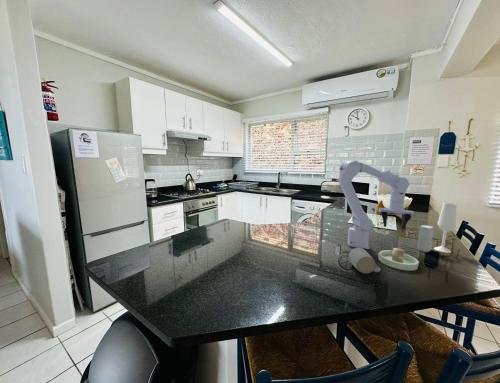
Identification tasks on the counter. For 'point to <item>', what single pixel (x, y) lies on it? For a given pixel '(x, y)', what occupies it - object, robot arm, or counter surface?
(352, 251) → the ceramic mug
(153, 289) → the counter surface
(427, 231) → the skincare box
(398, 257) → the maple cylinder
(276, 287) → the counter surface
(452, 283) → the counter surface
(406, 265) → the round tray
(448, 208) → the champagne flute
